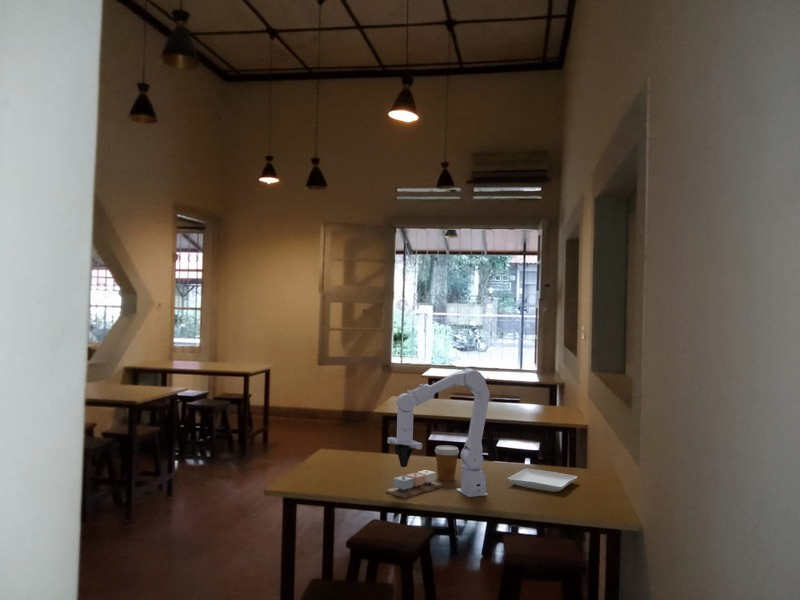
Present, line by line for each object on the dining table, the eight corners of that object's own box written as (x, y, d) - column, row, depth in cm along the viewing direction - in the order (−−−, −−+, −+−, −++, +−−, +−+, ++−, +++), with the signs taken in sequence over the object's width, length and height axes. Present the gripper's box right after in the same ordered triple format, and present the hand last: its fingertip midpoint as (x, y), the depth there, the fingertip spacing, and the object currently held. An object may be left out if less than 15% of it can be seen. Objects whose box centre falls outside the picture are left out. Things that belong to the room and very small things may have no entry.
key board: (423, 482, 239) (423, 473, 239) (442, 486, 233) (442, 478, 233) (386, 492, 223) (386, 483, 223) (405, 498, 217) (405, 488, 217)
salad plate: (525, 475, 255) (525, 467, 255) (578, 484, 244) (578, 475, 244) (506, 487, 236) (506, 477, 236) (562, 496, 225) (562, 486, 226)
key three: (402, 484, 227) (402, 475, 227) (413, 486, 223) (413, 477, 223) (393, 486, 223) (393, 477, 223) (404, 489, 219) (404, 480, 220)
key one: (425, 477, 236) (425, 469, 236) (435, 480, 233) (436, 471, 233) (416, 480, 233) (417, 471, 233) (427, 482, 229) (427, 474, 229)
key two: (414, 480, 231) (414, 472, 232) (424, 483, 228) (425, 474, 228) (405, 483, 228) (405, 474, 228) (416, 486, 224) (416, 477, 224)
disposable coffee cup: (449, 483, 238) (450, 451, 238) (429, 478, 244) (429, 447, 244) (463, 478, 246) (463, 447, 246) (442, 474, 251) (443, 444, 252)
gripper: (382, 426, 225) (381, 464, 225) (413, 432, 216) (412, 472, 215) (395, 424, 231) (394, 461, 230) (426, 429, 221) (425, 468, 221)
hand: (403, 466), depth 223 cm, fingers closed
